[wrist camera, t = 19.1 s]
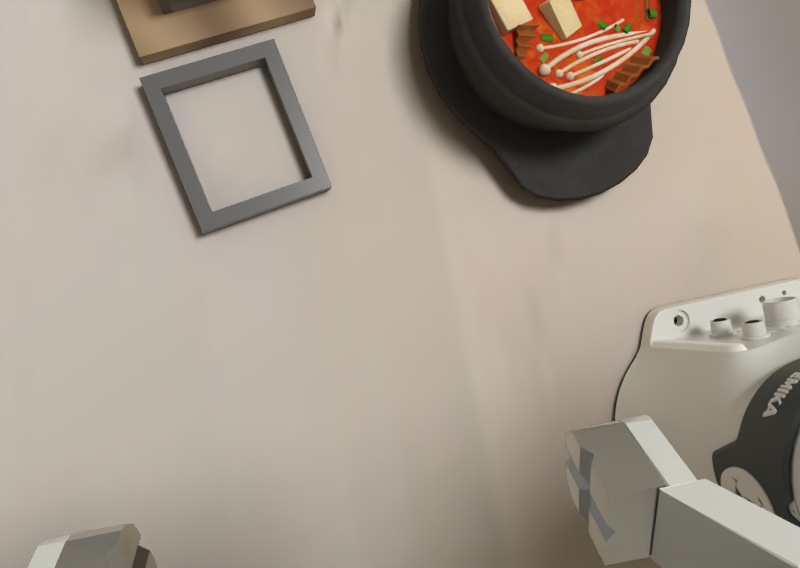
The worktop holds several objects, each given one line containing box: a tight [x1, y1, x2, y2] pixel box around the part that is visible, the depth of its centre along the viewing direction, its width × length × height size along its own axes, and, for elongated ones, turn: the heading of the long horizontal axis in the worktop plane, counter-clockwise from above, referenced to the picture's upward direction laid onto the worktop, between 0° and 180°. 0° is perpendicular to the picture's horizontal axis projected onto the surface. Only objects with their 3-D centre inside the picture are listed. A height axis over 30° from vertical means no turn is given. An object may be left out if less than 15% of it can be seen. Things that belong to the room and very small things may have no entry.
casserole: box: [418, 0, 691, 201], centre depth 40 cm, size 25×19×8 cm
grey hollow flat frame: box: [139, 39, 332, 234], centre depth 39 cm, size 9×10×1 cm
